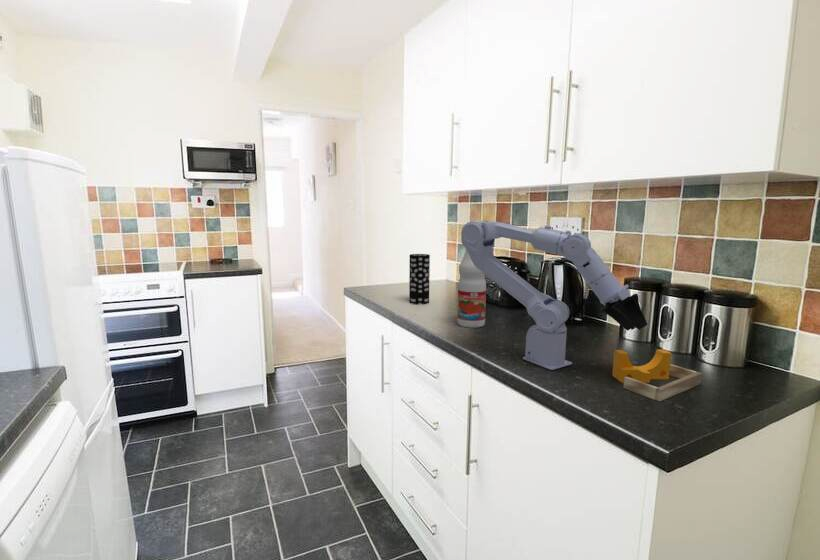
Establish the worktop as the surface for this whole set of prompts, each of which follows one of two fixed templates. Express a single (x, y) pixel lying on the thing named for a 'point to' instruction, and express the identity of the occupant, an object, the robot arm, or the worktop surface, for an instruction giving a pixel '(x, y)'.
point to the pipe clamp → (641, 367)
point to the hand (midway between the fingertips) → (636, 327)
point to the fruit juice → (471, 294)
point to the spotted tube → (419, 278)
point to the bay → (661, 393)
